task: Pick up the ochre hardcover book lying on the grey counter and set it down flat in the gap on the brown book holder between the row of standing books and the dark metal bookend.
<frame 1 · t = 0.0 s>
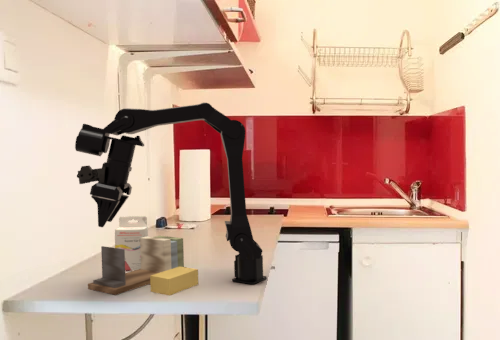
hand: (104, 224, 106), 15 cm above the table, tool pointing down, fingers open, 9 cm apart
ink cartridge box: (132, 269, 125), on the table
ochre book: (175, 289, 105), on the table
brown book holder: (140, 279, 113), on the table
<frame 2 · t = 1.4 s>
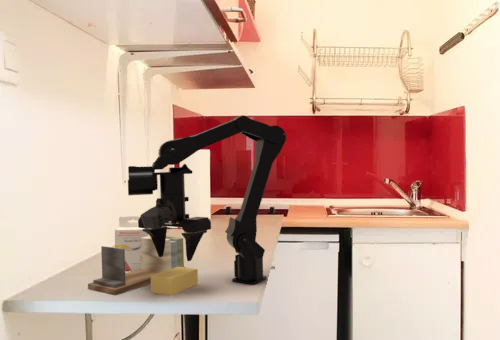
hand: (174, 258, 105), 7 cm above the table, tool pointing down, fingers open, 9 cm apart
nothing on the table moved.
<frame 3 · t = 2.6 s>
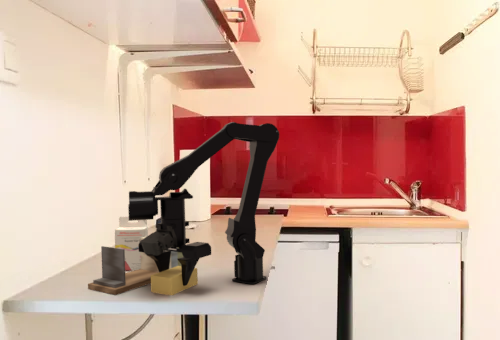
hand: (174, 283, 105), 1 cm above the table, tool pointing down, fingers closed on ochre book, 6 cm apart
ochre book: (175, 288, 105), on the table, touching gripper
everything else where it was.
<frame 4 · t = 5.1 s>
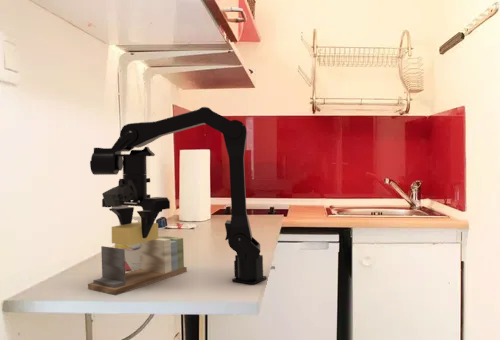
hand: (135, 236, 110), 11 cm above the table, tool pointing down, fingers closed on ochre book, 6 cm apart
ochre book: (135, 240, 110), point 10 cm above the table, touching gripper
everything else where it was.
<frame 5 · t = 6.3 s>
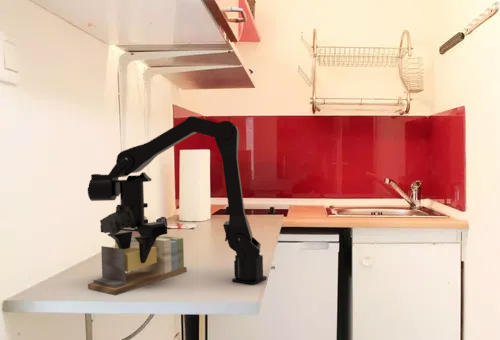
hand: (134, 261, 111), 5 cm above the table, tool pointing down, fingers closed on ochre book, 6 cm apart
ochre book: (134, 265, 111), point 4 cm above the table, touching gripper
everything else where it was.
when the fingers open (4 cm above the table, at t = 7.1 s): ochre book drops 1 cm, resting on brown book holder.
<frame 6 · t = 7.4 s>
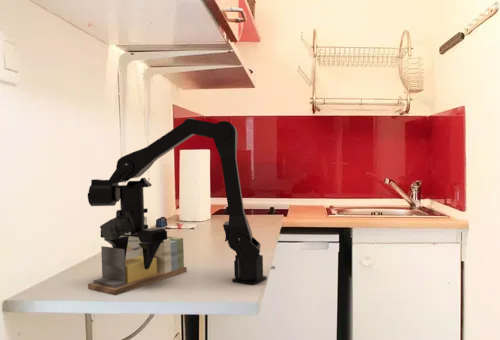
hand: (134, 267, 111), 4 cm above the table, tool pointing down, fingers open, 9 cm apart
ochre book: (134, 276, 111), point 1 cm above the table, touching brown book holder
everything else where it was.
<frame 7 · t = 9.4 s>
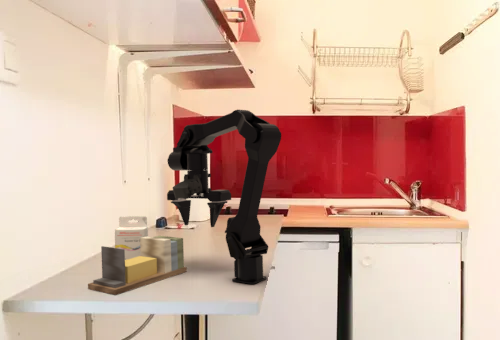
hand: (199, 226, 123), 12 cm above the table, tool pointing down, fingers open, 9 cm apart
nothing on the table moved.
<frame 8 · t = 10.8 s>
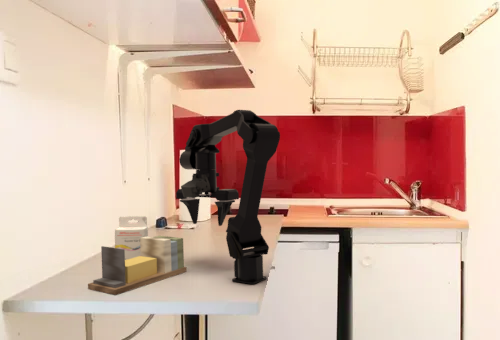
hand: (207, 224, 125), 12 cm above the table, tool pointing down, fingers open, 9 cm apart
nothing on the table moved.
at the end: ochre book 0.1 cm from the target spot on the brown book holder, point 1.2 cm above the brown book holder's base; ochre book tilted 0°; the gripper is holding nothing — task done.
